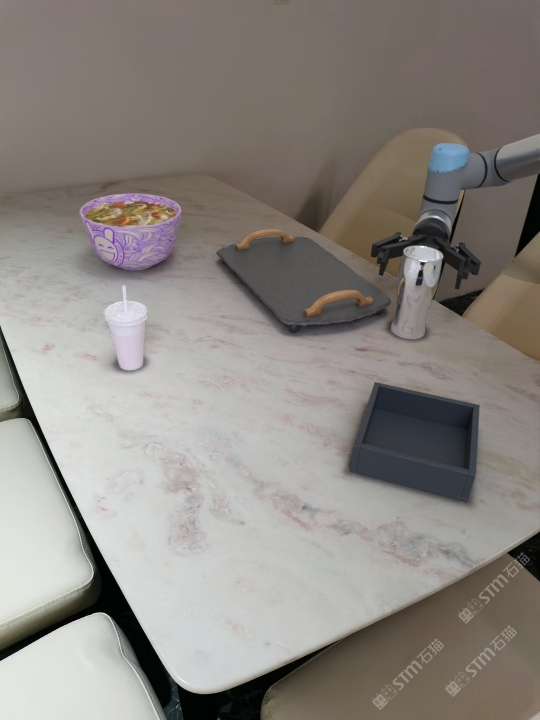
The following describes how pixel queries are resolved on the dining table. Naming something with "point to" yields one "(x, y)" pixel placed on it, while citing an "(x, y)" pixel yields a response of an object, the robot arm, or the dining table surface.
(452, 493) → the slate grey square tray
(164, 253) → the bowl of food
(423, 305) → the beer glass
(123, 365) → the smoothie
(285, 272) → the serving tray
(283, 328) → the dining table surface
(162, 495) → the dining table surface
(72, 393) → the dining table surface
